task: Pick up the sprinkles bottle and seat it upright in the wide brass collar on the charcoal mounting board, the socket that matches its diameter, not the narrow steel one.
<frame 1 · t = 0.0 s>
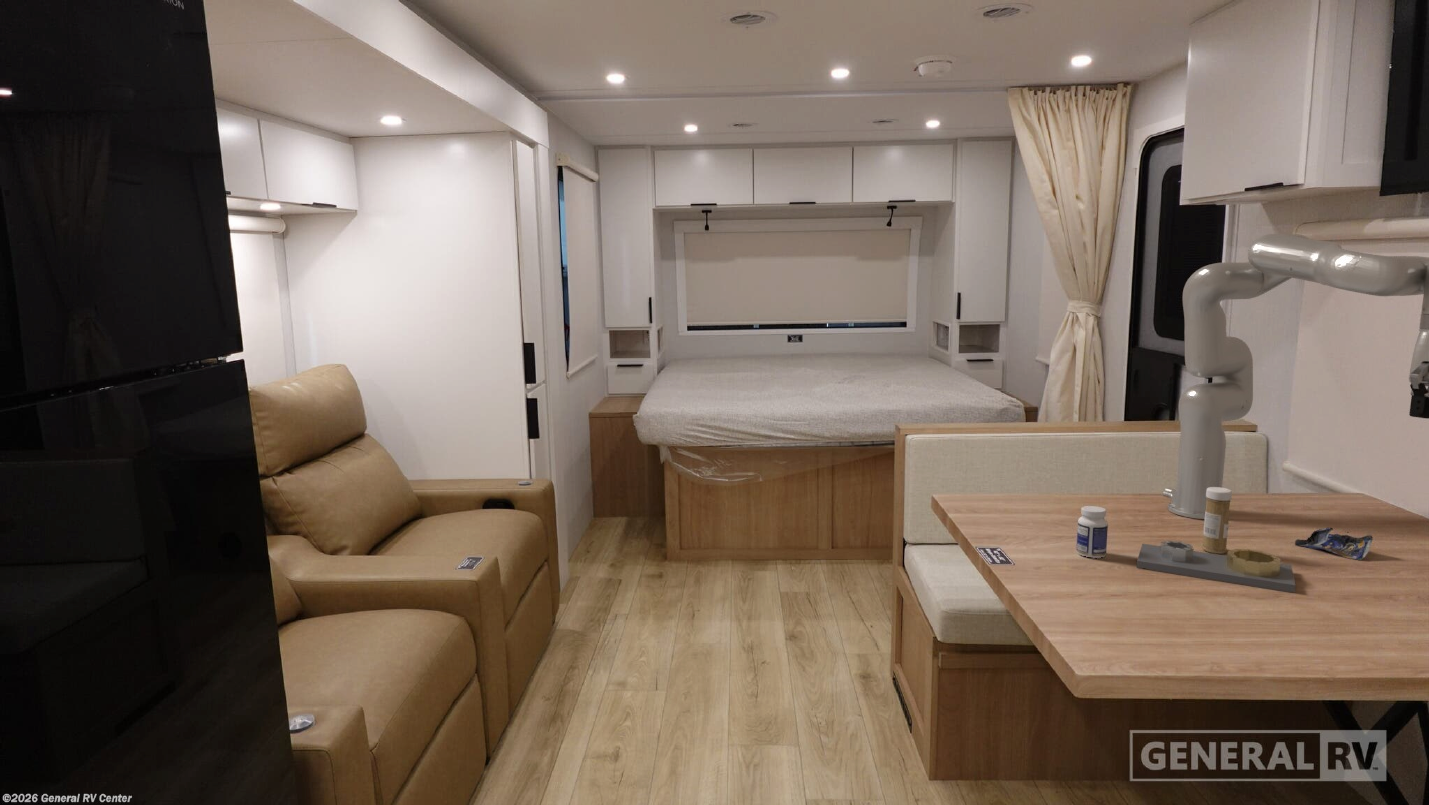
sprinkles bottle: (1213, 551, 175), on the table
mounting board: (1212, 570, 164), on the table
steel collar: (1176, 557, 167), resting on mounting board
brass collar: (1252, 568, 160), resting on mounting board
pill bottle: (1090, 555, 173), on the table
snack package: (1330, 552, 175), on the table
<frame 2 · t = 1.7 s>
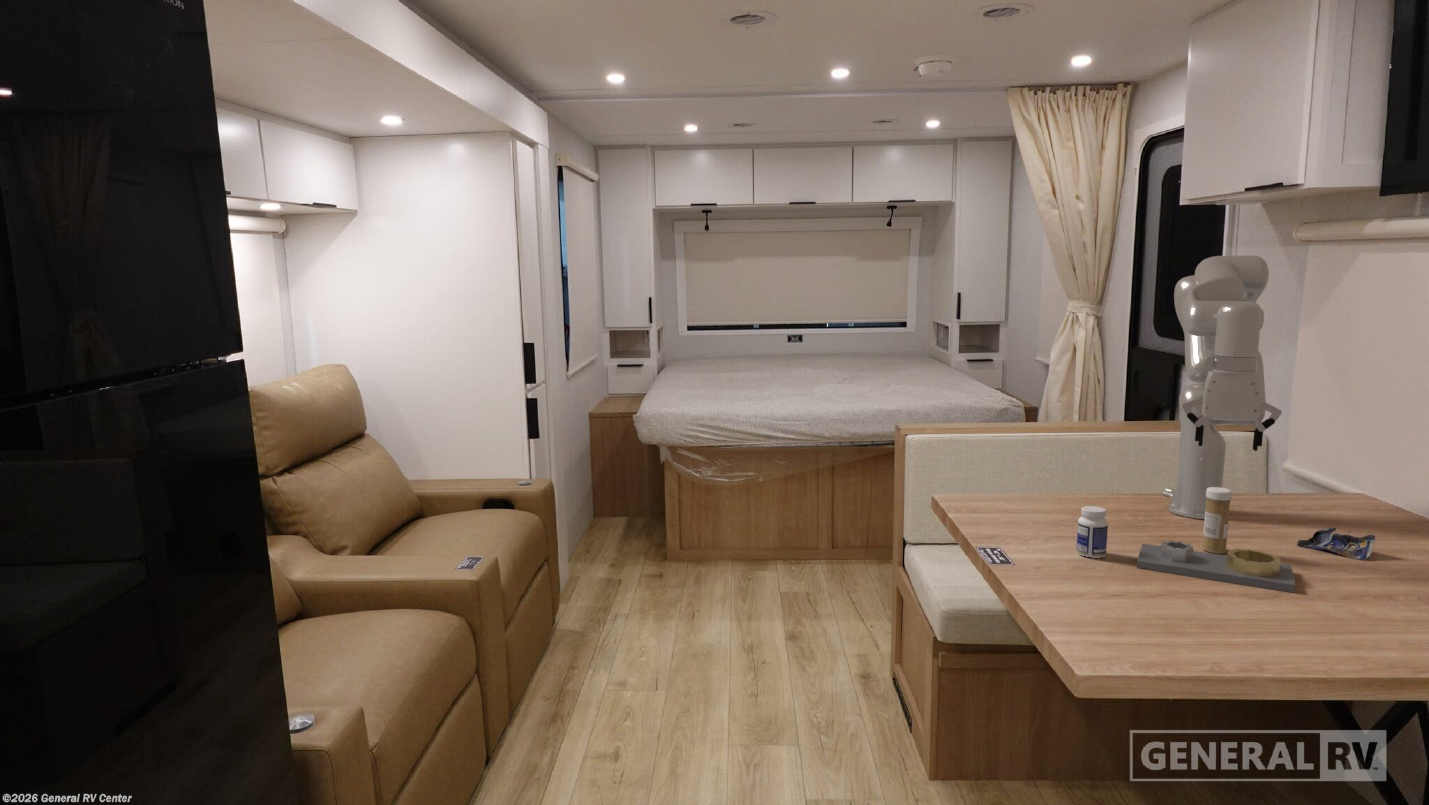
hand: (1227, 447, 171), 22 cm above the table, tool pointing down, fingers open, 9 cm apart
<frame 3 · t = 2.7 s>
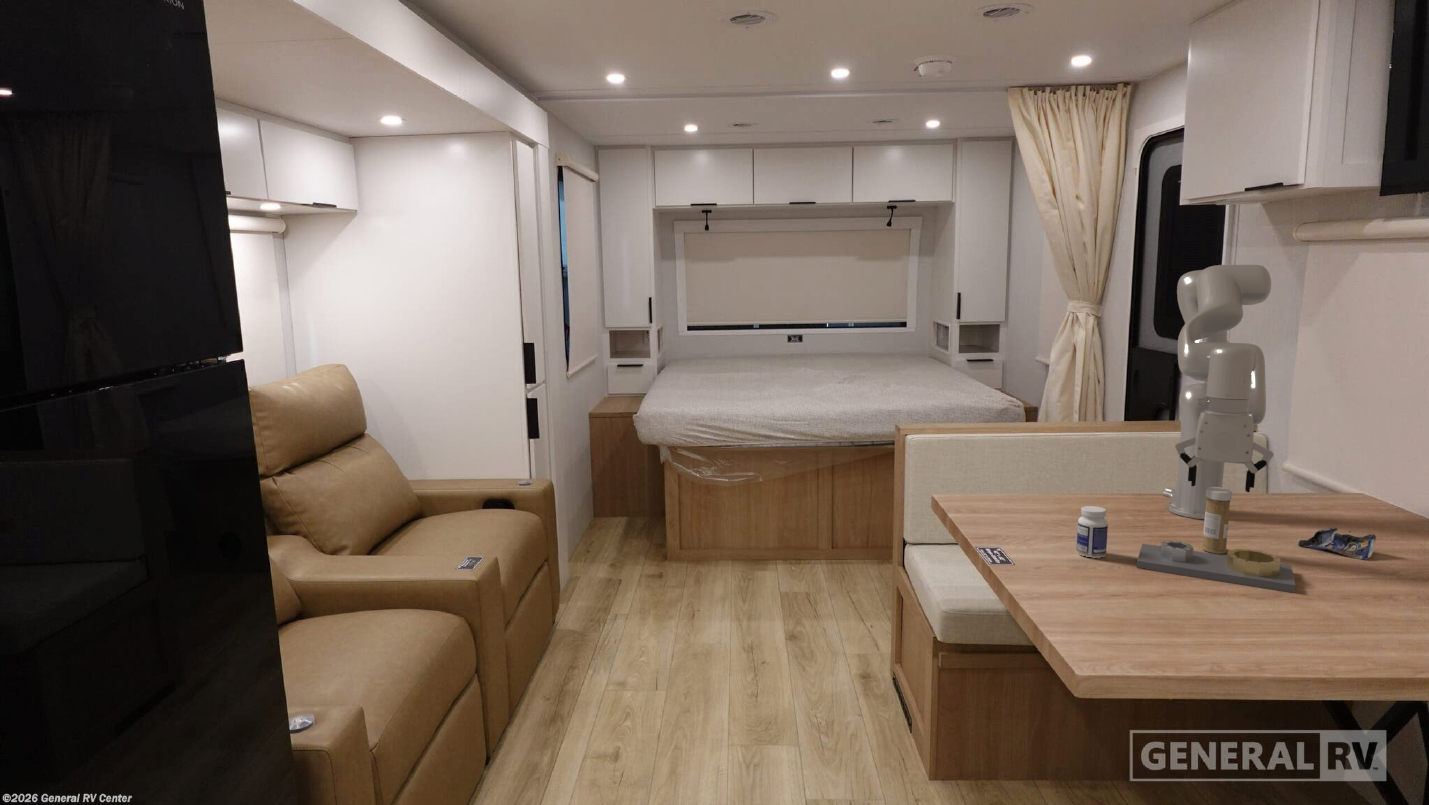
hand: (1219, 487, 172), 14 cm above the table, tool pointing down, fingers open, 9 cm apart
nothing on the table moved.
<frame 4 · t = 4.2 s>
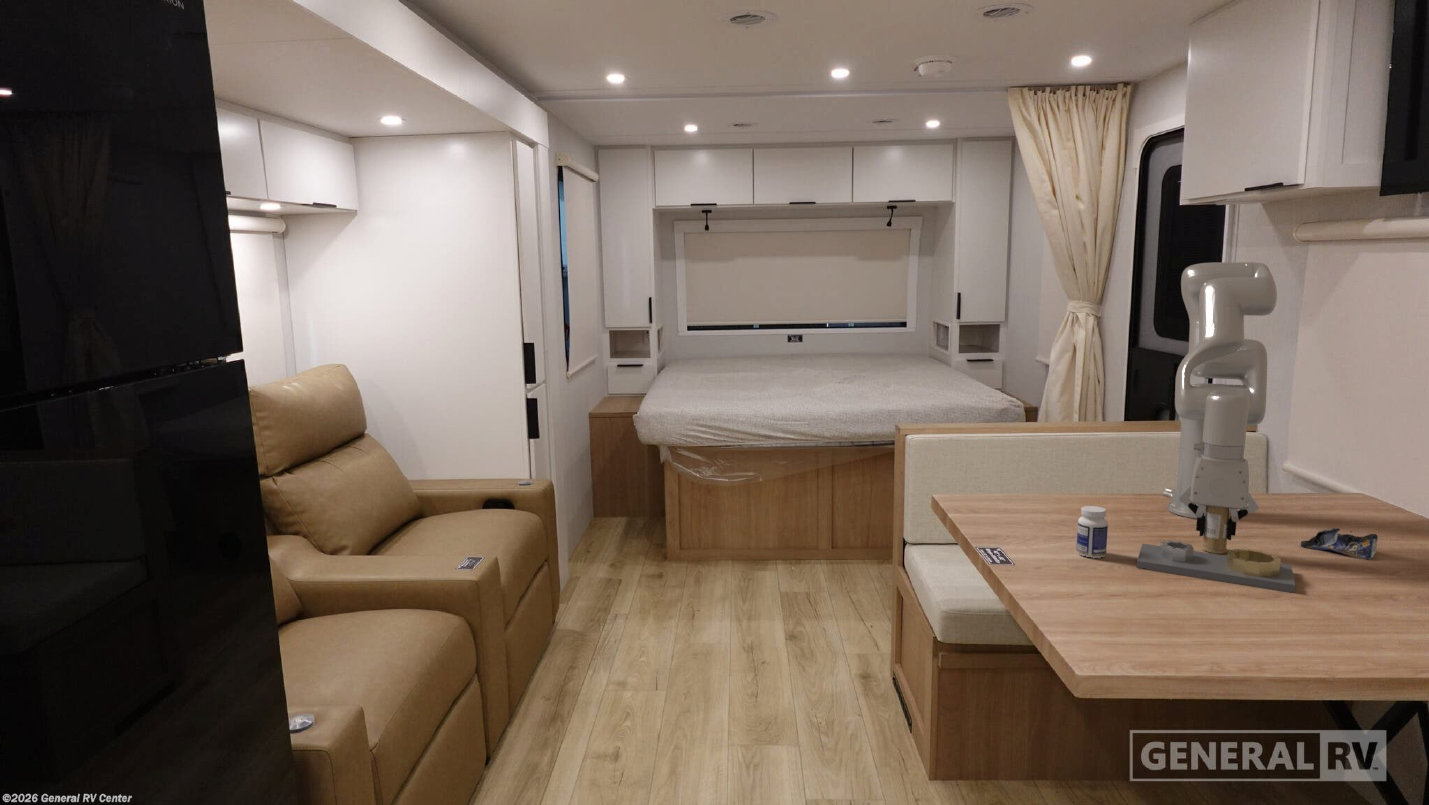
hand: (1215, 535, 174), 3 cm above the table, tool pointing down, fingers closed on sprinkles bottle, 4 cm apart
sprinkles bottle: (1213, 551, 175), on the table, touching gripper
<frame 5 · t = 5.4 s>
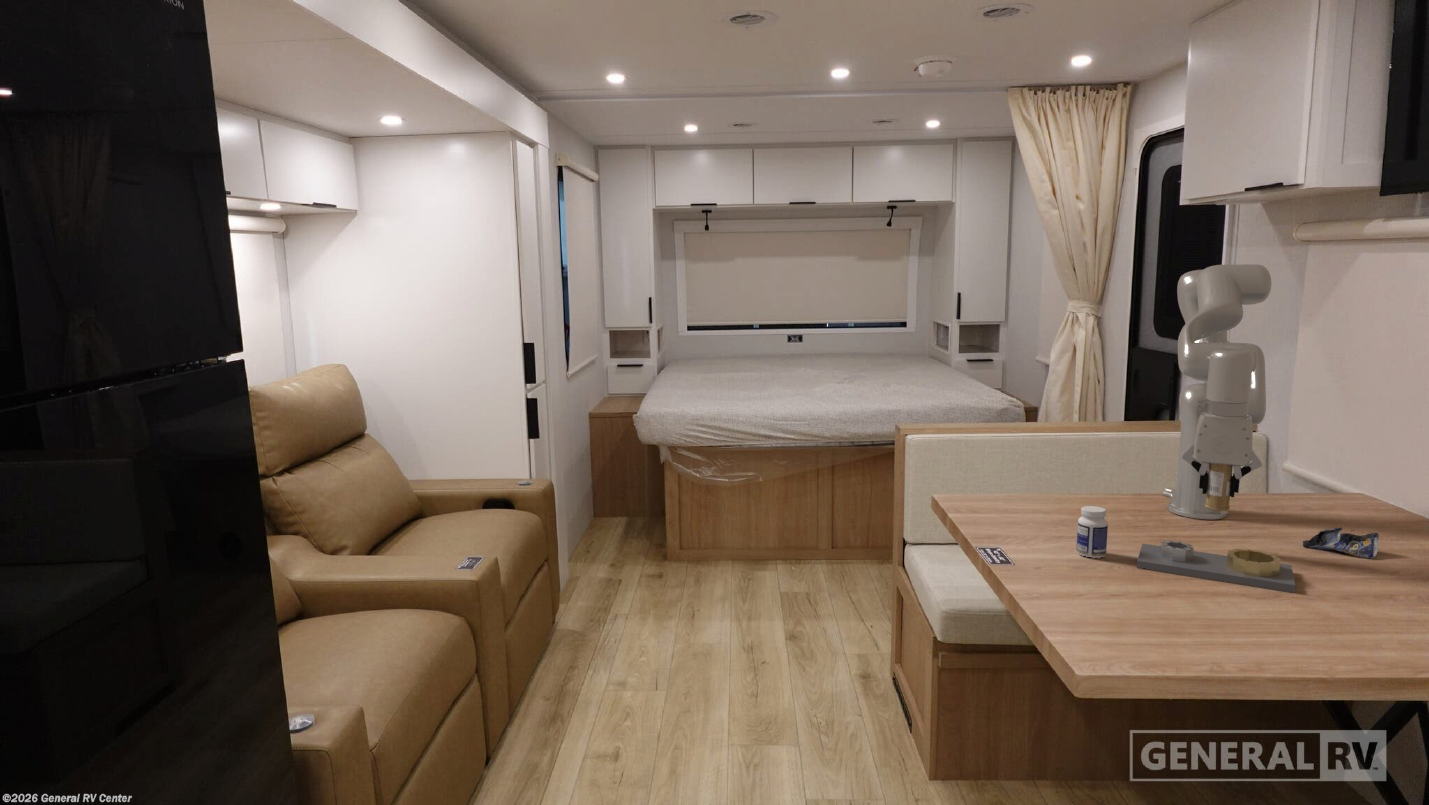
hand: (1218, 493, 174), 12 cm above the table, tool pointing down, fingers closed on sprinkles bottle, 4 cm apart
sprinkles bottle: (1216, 509, 174), point 9 cm above the table, touching gripper
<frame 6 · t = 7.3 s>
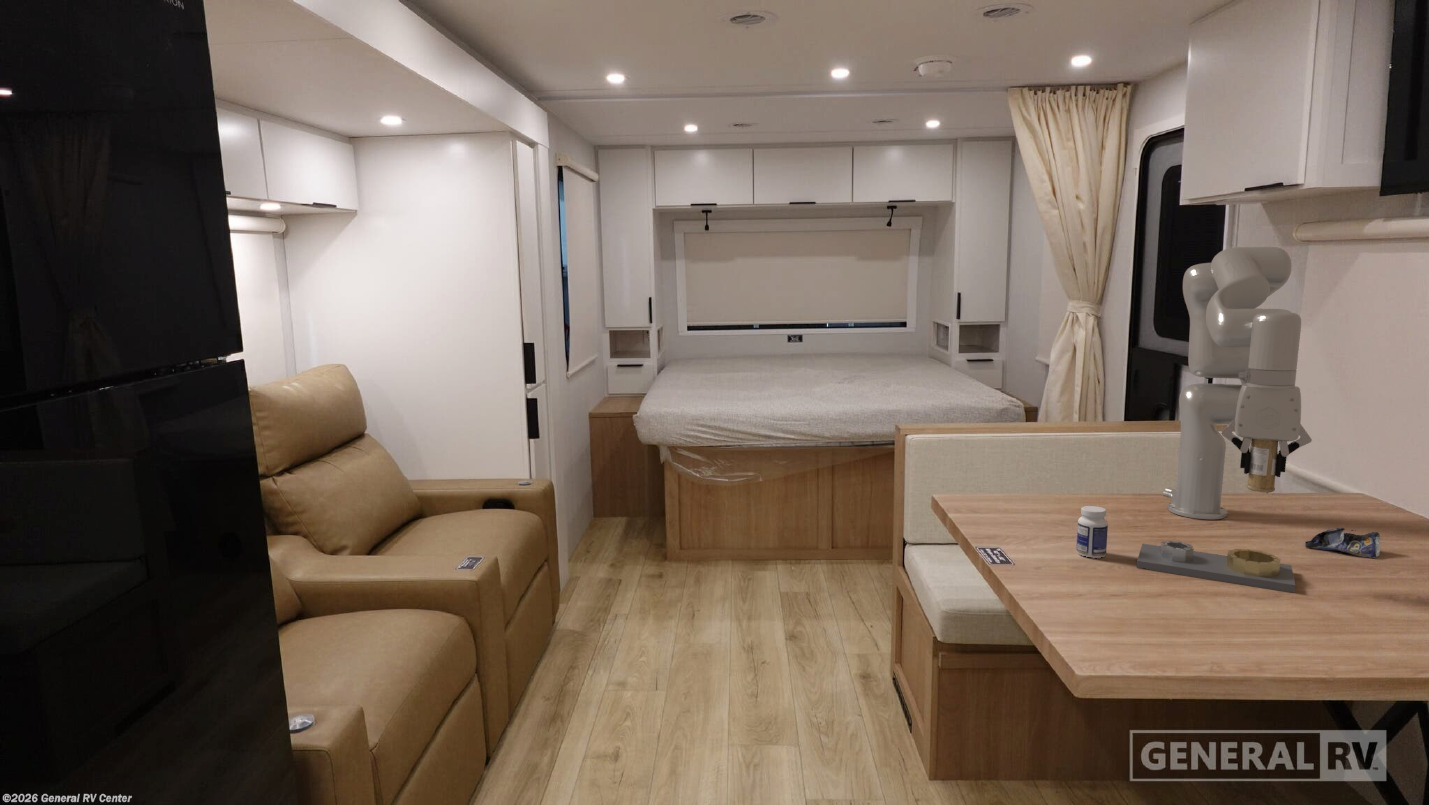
hand: (1261, 472, 157), 21 cm above the table, tool pointing down, fingers closed on sprinkles bottle, 4 cm apart
sprinkles bottle: (1260, 491, 158), point 17 cm above the table, touching gripper
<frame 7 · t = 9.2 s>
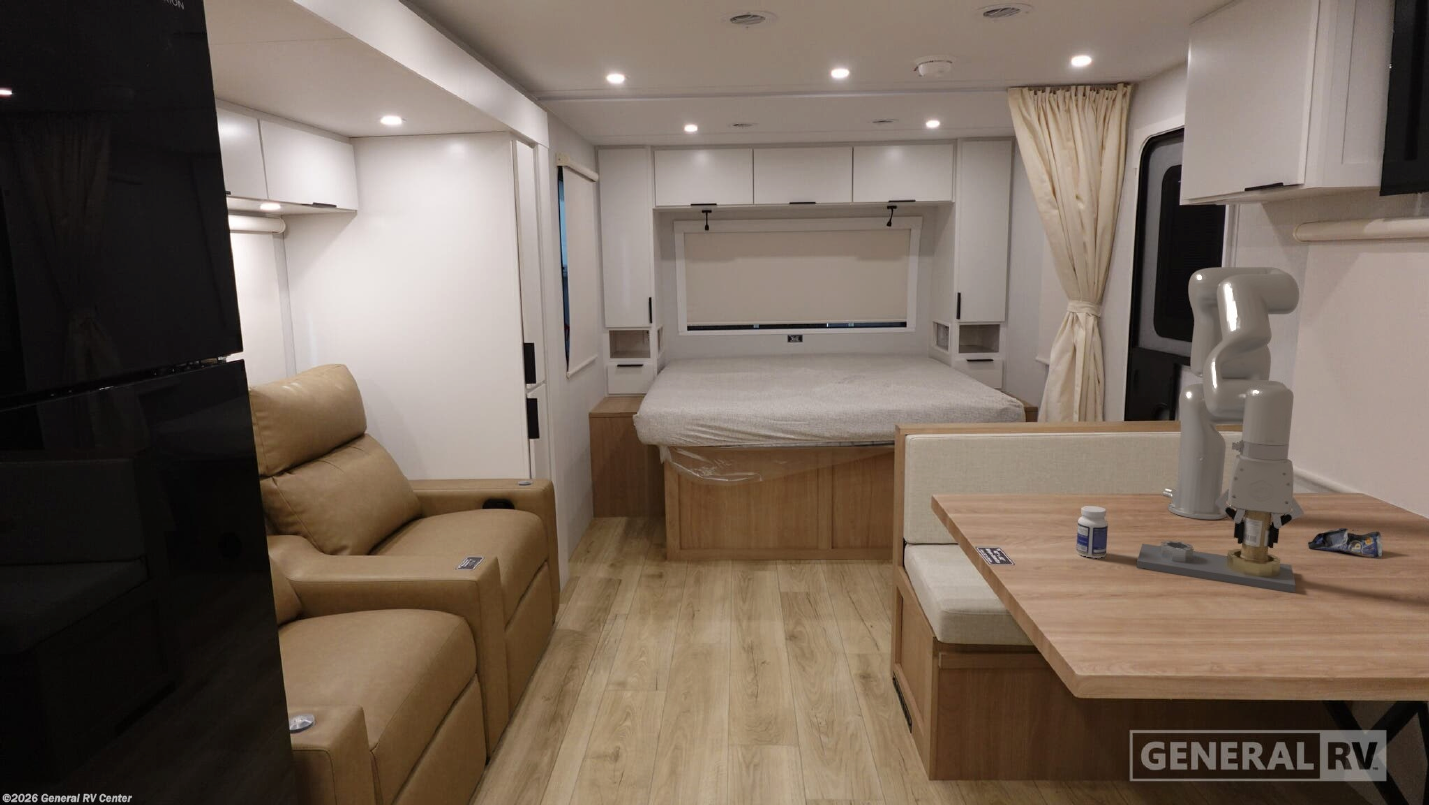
hand: (1255, 543, 159), 7 cm above the table, tool pointing down, fingers closed on sprinkles bottle, 4 cm apart
sprinkles bottle: (1253, 560, 160), point 3 cm above the table, touching gripper
when the fingers open (5 cm above the table, at t = 9.8 s): sprinkles bottle stays where it is, resting on mounting board.
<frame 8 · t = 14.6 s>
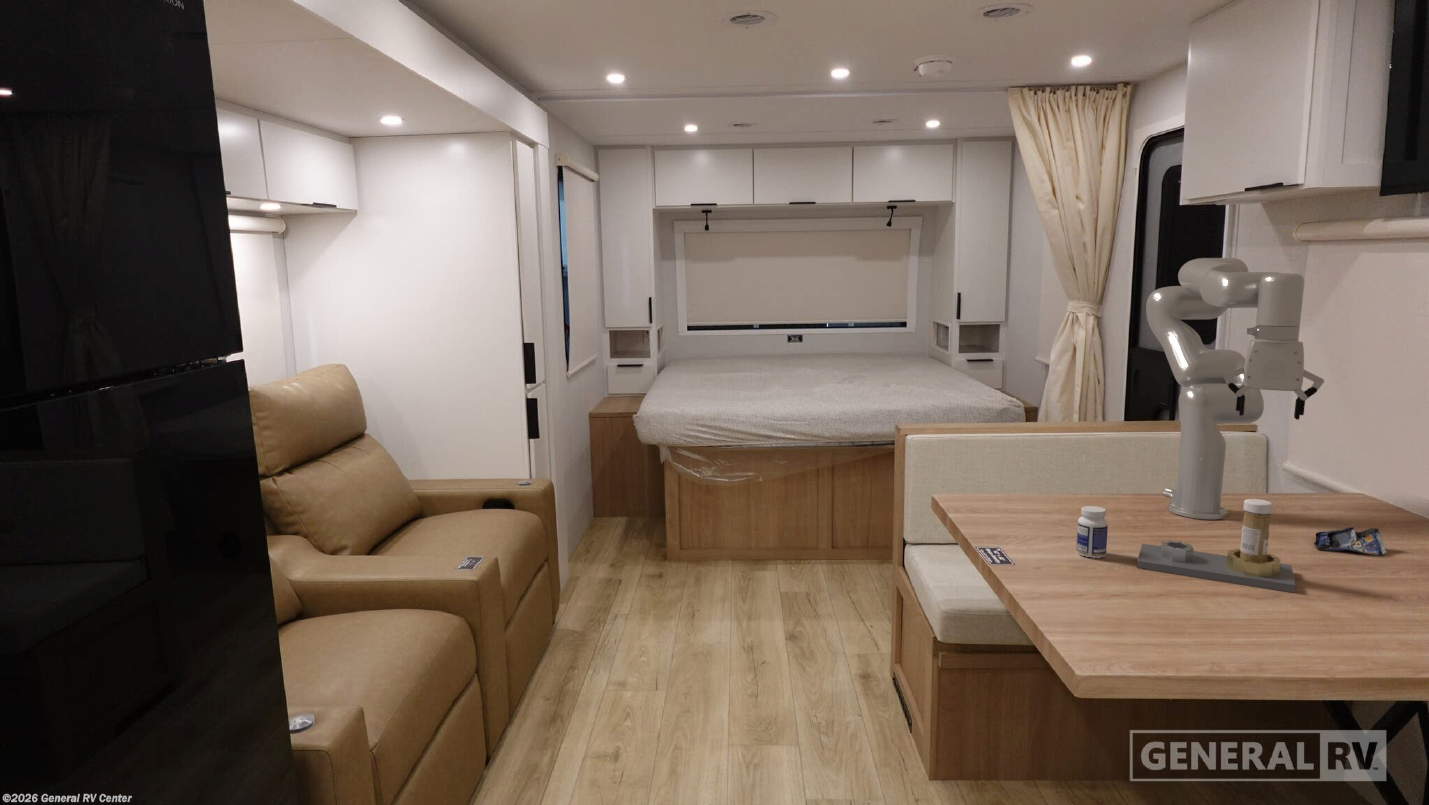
hand: (1268, 416, 172), 28 cm above the table, tool pointing down, fingers open, 9 cm apart
sprinkles bottle: (1251, 569, 160), point 1 cm above the table, touching mounting board
snack package: (1344, 551, 175), on the table
everything else where it was.
at the end: sprinkles bottle 0.2 cm from the brass collar (horizontally); sprinkles bottle point 1.3 cm above the table; sprinkles bottle tilted 0° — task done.
